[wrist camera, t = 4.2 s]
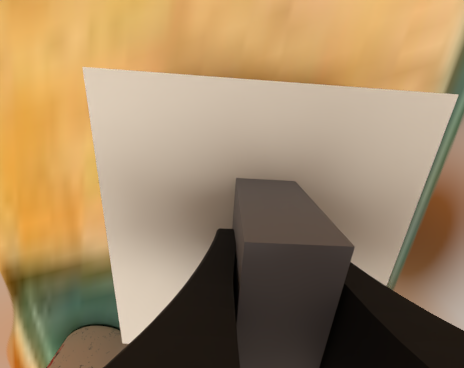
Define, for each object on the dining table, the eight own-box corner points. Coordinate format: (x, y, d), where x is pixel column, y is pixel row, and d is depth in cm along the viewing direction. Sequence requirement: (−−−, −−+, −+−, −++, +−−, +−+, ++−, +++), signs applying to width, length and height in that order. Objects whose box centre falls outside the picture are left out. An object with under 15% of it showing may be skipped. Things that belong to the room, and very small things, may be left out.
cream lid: (429, 95, 9) (709, 82, 4) (351, 328, 13) (431, 470, 8) (101, 72, 9) (-102, 17, 3) (131, 322, 13) (65, 472, 8)
